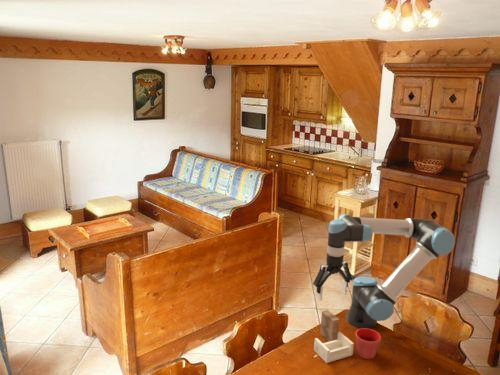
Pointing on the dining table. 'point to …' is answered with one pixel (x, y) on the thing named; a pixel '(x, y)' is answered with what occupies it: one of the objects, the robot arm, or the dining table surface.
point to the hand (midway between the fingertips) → (331, 296)
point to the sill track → (334, 348)
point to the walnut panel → (329, 326)
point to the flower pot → (367, 342)
